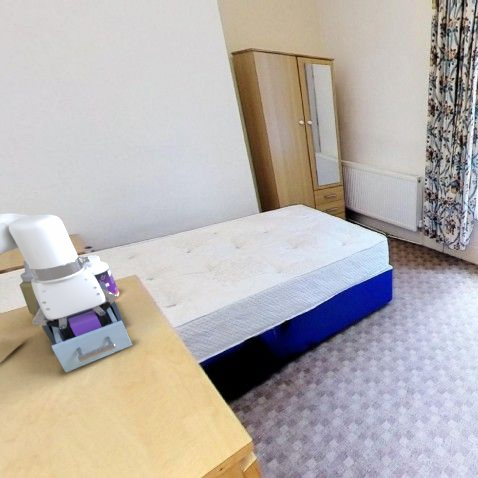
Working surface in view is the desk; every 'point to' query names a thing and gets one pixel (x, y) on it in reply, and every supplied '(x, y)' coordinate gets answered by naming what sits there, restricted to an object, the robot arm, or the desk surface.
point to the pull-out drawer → (90, 343)
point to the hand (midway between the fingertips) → (89, 331)
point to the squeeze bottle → (28, 290)
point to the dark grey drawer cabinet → (113, 308)
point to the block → (84, 323)
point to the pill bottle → (102, 273)
